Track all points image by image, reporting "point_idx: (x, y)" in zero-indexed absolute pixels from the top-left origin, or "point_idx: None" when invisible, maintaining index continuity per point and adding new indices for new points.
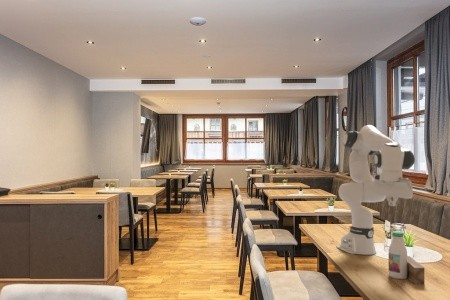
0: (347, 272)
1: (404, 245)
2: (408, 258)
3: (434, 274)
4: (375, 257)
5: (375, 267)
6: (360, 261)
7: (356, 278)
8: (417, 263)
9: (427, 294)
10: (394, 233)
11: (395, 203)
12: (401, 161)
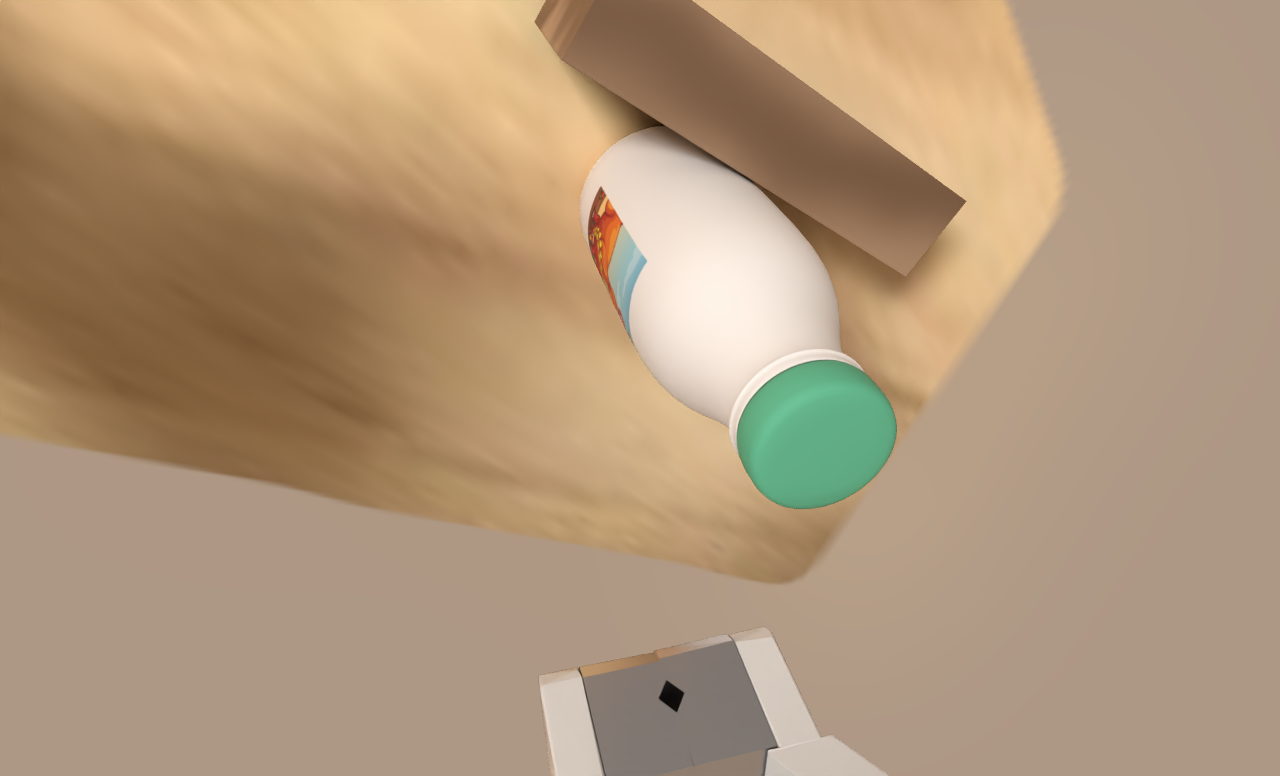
0: (406, 505)
1: (837, 319)
2: (685, 65)
3: None
4: None
5: (344, 199)
6: (71, 201)
7: (552, 514)
8: (854, 137)
9: (988, 291)
10: (819, 504)
11: (798, 718)
12: None
